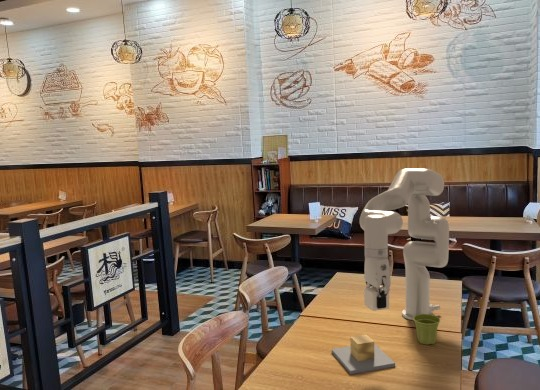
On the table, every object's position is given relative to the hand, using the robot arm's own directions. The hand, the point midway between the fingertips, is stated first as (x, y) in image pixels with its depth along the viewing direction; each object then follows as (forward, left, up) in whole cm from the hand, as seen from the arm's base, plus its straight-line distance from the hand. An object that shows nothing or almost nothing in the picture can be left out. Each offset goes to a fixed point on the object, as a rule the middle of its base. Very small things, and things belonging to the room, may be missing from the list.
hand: (376, 304), depth 155 cm
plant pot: (-24, -7, -20) cm, 32 cm away
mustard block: (+4, -2, -19) cm, 19 cm away
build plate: (+4, -2, -20) cm, 20 cm away
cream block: (0, 0, -1) cm, 1 cm away
